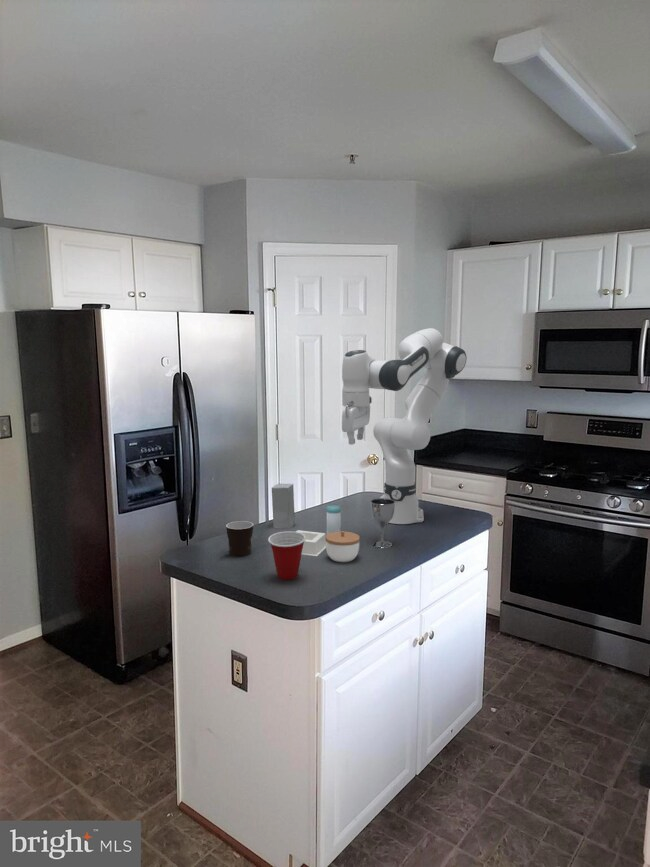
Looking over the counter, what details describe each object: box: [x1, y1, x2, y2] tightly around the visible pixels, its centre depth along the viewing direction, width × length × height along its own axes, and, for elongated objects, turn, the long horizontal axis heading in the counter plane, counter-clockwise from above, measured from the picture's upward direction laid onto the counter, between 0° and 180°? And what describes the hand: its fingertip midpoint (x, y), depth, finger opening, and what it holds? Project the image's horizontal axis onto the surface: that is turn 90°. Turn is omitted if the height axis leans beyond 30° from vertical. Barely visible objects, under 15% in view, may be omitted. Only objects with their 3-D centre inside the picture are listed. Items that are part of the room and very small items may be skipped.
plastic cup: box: [267, 530, 306, 581], centre depth 175 cm, size 11×11×12 cm
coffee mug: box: [225, 520, 254, 558], centre depth 194 cm, size 12×9×10 cm
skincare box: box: [271, 483, 296, 530], centre depth 222 cm, size 8×7×16 cm
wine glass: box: [370, 497, 395, 549], centre depth 203 cm, size 8×8×15 cm
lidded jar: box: [325, 530, 361, 563], centre depth 188 cm, size 11×11×9 cm
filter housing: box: [295, 529, 327, 557], centre depth 198 cm, size 12×12×5 cm
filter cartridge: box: [326, 504, 342, 535], centre depth 207 cm, size 5×5×12 cm
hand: (356, 441), depth 201 cm, fingers open, 8 cm apart
